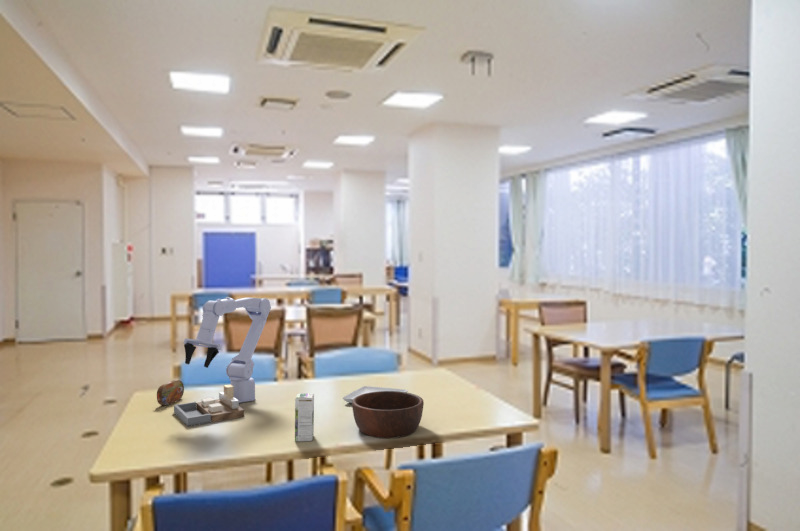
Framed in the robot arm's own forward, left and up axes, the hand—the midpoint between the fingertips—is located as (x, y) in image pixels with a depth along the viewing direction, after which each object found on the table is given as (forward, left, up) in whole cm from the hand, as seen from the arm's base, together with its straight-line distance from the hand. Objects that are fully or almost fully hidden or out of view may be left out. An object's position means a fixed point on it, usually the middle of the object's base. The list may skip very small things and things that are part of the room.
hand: (196, 365), depth 201 cm
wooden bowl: (-50, +54, -19) cm, 76 cm away
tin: (+4, -25, -19) cm, 32 cm away
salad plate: (-66, +22, -20) cm, 73 cm away
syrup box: (-22, +46, -19) cm, 55 cm away
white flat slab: (-12, +1, -16) cm, 20 cm away
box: (+2, +1, -19) cm, 19 cm away
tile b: (-5, +6, -17) cm, 18 cm away
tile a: (-5, -3, -17) cm, 18 cm away
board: (-8, +1, -19) cm, 21 cm away
